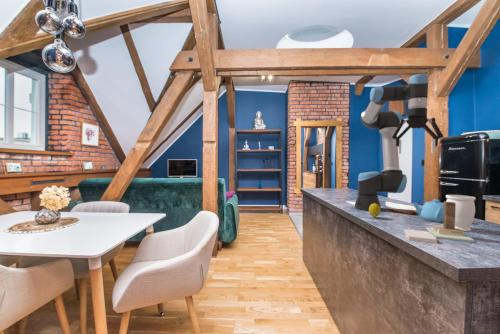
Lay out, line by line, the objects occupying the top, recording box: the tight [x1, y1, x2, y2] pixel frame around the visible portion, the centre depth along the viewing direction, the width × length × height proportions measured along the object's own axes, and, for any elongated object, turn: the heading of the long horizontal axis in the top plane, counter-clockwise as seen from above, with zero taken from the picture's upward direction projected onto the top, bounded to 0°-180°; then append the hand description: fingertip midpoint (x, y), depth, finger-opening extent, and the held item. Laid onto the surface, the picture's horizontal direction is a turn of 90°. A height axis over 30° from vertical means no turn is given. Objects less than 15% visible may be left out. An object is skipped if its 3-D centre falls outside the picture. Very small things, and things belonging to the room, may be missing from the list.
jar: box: [445, 194, 476, 232], centre depth 114 cm, size 11×10×15 cm
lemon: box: [368, 203, 381, 218], centre depth 134 cm, size 6×6×8 cm
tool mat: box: [426, 227, 475, 243], centre depth 104 cm, size 14×12×1 cm
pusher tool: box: [434, 200, 464, 236], centre depth 104 cm, size 5×8×13 cm, turn 67°
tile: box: [403, 228, 438, 244], centre depth 100 cm, size 2×9×11 cm
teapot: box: [412, 198, 444, 224], centre depth 130 cm, size 15×15×11 cm
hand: (415, 153), depth 119 cm, fingers open, 13 cm apart
